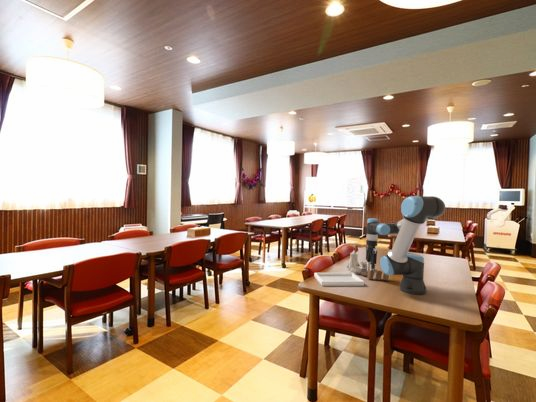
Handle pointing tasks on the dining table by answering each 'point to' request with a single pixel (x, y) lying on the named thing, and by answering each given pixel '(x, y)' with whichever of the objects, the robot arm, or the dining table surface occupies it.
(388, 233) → the robot arm
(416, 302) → the dining table surface
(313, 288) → the dining table surface
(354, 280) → the pocket tray
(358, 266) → the chinaware
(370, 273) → the wooden block set
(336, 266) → the dining table surface
